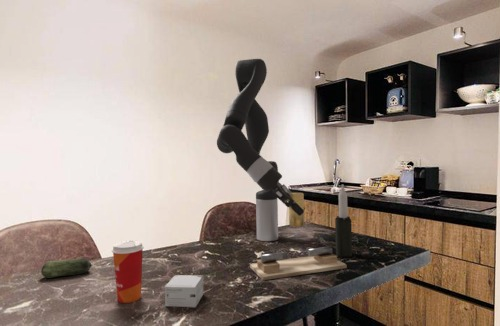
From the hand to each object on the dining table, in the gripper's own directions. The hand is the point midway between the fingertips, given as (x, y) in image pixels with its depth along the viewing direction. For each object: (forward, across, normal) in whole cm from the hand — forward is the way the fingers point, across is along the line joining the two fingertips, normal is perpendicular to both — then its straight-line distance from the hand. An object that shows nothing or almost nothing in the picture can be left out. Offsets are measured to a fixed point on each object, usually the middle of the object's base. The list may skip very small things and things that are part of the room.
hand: (302, 212), depth 103 cm
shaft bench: (+11, 0, +14) cm, 18 cm away
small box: (-7, -28, +33) cm, 43 cm away
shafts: (+9, 0, +12) cm, 15 cm away
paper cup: (-17, -29, +43) cm, 55 cm away
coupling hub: (+2, 0, +4) cm, 5 cm away
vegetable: (-38, -17, +64) cm, 76 cm away
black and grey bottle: (+22, +16, +3) cm, 27 cm away
